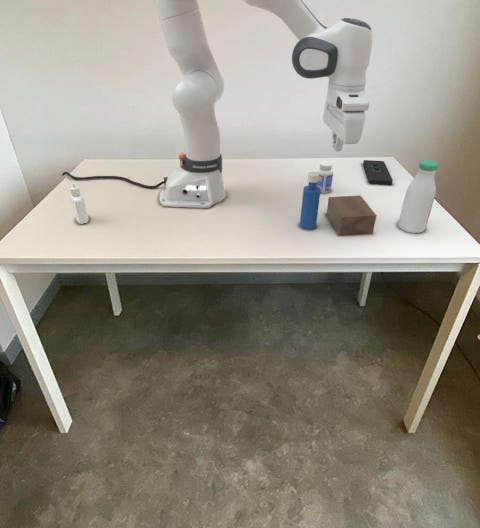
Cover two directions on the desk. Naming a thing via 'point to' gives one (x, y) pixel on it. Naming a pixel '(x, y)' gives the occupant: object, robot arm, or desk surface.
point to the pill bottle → (325, 177)
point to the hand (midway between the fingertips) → (336, 149)
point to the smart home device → (377, 172)
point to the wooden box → (350, 215)
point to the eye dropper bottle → (78, 205)
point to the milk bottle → (419, 198)
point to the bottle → (310, 202)
